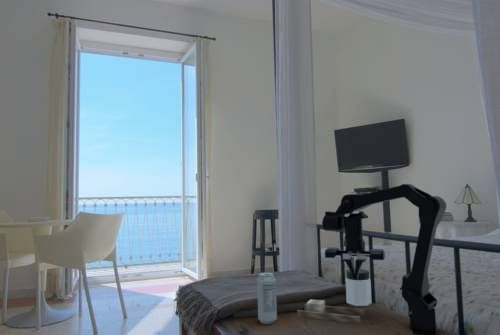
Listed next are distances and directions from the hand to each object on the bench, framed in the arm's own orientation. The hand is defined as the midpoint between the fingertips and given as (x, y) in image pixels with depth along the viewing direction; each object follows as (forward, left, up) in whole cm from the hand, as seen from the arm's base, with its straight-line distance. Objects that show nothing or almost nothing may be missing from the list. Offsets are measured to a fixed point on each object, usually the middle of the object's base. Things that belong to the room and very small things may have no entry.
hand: (355, 280), depth 126 cm
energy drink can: (+26, +14, -12) cm, 32 cm away
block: (+13, +3, -11) cm, 17 cm away
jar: (+2, -16, -12) cm, 20 cm away
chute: (+8, +3, -12) cm, 15 cm away
